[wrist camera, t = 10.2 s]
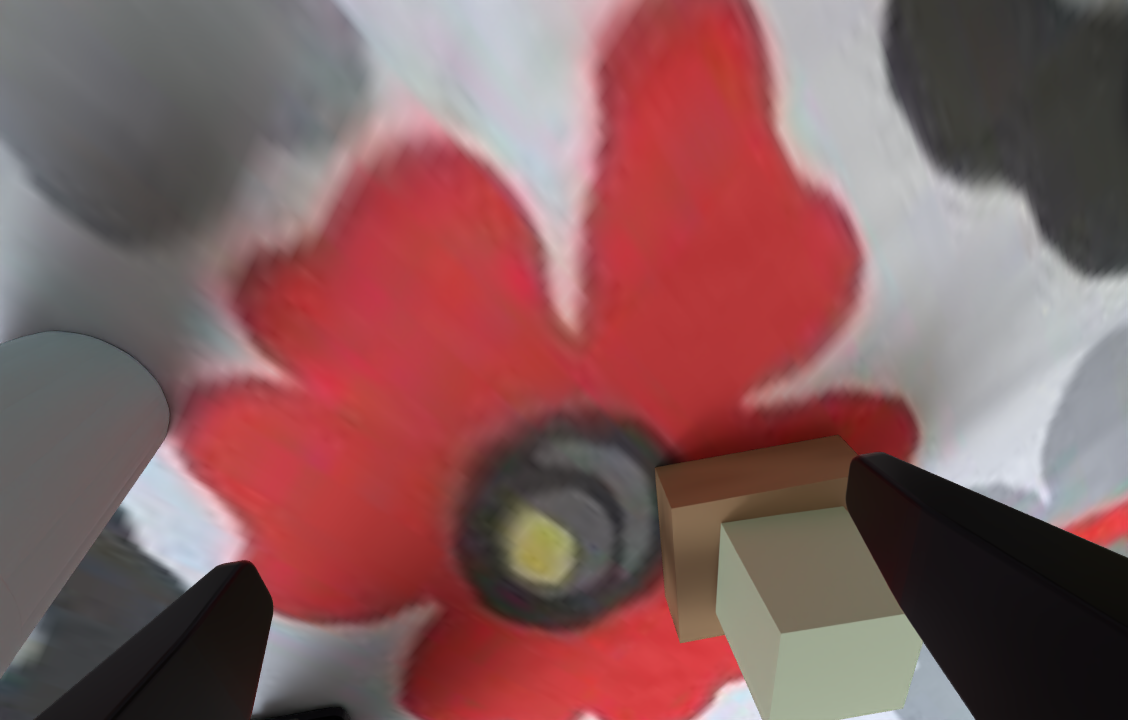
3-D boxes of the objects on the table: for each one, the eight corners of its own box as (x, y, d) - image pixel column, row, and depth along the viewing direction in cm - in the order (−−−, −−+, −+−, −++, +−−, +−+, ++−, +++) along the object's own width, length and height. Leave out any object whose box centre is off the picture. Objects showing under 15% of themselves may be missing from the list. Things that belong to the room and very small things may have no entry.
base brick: (819, 559, 28) (853, 610, 25) (662, 588, 27) (680, 643, 25) (832, 428, 24) (874, 472, 21) (652, 460, 24) (671, 508, 21)
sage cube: (842, 505, 22) (932, 609, 17) (826, 595, 24) (903, 708, 20) (720, 523, 22) (780, 633, 17) (715, 612, 24) (767, 732, 19)
